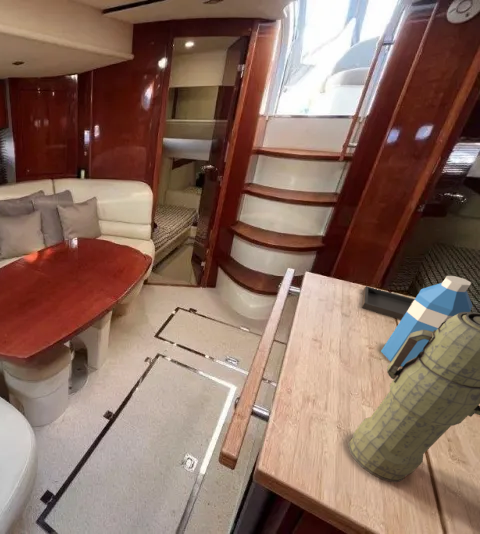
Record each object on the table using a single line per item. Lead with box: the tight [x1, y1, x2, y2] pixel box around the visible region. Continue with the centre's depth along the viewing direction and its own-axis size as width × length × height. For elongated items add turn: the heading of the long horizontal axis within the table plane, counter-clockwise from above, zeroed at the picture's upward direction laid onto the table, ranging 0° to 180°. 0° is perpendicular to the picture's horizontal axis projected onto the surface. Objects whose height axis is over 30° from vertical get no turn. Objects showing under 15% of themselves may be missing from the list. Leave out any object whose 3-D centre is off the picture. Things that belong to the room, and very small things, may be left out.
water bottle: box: [380, 275, 473, 368], centre depth 76 cm, size 9×9×25 cm
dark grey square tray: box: [361, 285, 415, 321], centre depth 101 cm, size 13×13×2 cm
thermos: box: [347, 311, 480, 483], centre depth 52 cm, size 9×12×35 cm
